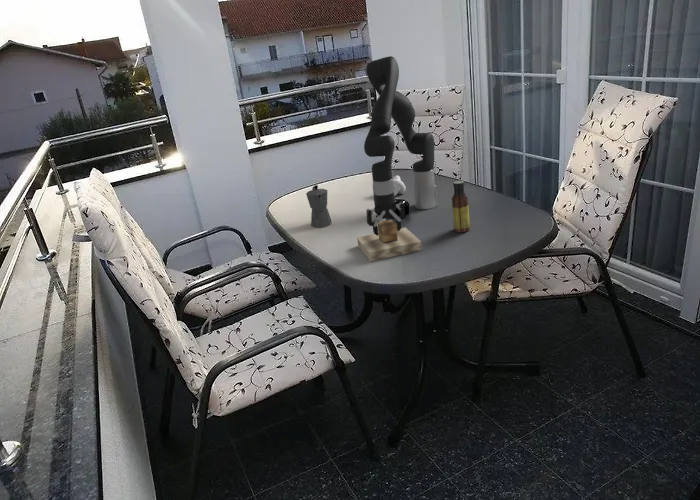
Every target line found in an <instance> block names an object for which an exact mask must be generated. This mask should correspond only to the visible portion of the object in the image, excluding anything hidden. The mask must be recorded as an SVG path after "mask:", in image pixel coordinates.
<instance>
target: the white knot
mask: <svg viewBox="0 0 700 500" xmlns="http://www.w3.org/2000/svg"><path fill="white" fill-rule="evenodd" d="M392 180H393V185H394V196H395V197H396V196H397V195H398V194H399V195H403V194H405V193H406V190H407V187H406V185H405V183H404V182H403V181H402V180H401V177H400V176H399V175H394V176H392Z"/></svg>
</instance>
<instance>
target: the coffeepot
mask: <svg viewBox="0 0 700 500" xmlns="http://www.w3.org/2000/svg"><path fill="white" fill-rule="evenodd" d="M305 194H306V197H307V198H306V199H307V201H308V204H309V207H310V208H311V215H310V216H311V218H310V219H311V221H310V222H311V223H310V225H311V226H312V227H313V228H315V229H317V228H318V229H320V228H326V227H329V226H330V225H331V224H332V223H333V222H332V218H331V216H330V212H329V209H328V207H327V206H328V189H325V188H319V187H318V185H317V184H316V185H314V186H312V189H311V190H308V191H307V192H306V193H305Z"/></svg>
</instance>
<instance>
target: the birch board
mask: <svg viewBox="0 0 700 500" xmlns="http://www.w3.org/2000/svg"><path fill="white" fill-rule="evenodd" d="M397 238H398V240H397V241H393V242H388V243H383V242H382V241H381V240H380V239H379V234H378V235H377V236H376V235H375V234H374V233H373V234H368V235H363V236H359V237H356V241H357V246H358V248H359V249H360V250H361V252H362V253H363V254H364V256H365V257H366V258H367V260H368V261H369V262H374V261H379V260H382V259H388V258H392V257H397V256H400V255H401V256H402V255H405V254H410V253H414V252H420V251H422V241H421V240H420V239H419V238H418V237H417V236H416V235H414V234H413V232H411V231H410V230H409V229H408V228H407V227H406V226H405V227H401V229H400V231H397Z"/></svg>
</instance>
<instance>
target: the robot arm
mask: <svg viewBox="0 0 700 500" xmlns="http://www.w3.org/2000/svg"><path fill="white" fill-rule="evenodd" d="M365 68H366V69H365V70H366V71H365V72H366V77H367V78H368V81H369V82H370V85H371V86H372V87H373V89H374V90H375V91H376V93H377V94H378V98H377V100H376V101H375V103H374V105H373V107H372V110H371V119H370V120H371V121H370V127H369V130H368V133H367V135H366V137H365V141H364V144H363V150H364V154H366V155H367V157H370V158H371V157H372V158H376V157H384V158H383V160H381V161H378V162H375V163H373V164H372V165H371V176H372V190H373V191H372V193H373V201H374V208H371V209H370V208H366V225H368V226H369V227H371V226H372V231H373V234H375V235H376V236H377V235H378V223H379V222H381V221H382V220H384V219H389V218H392V217H393V218H394V219H395V223H396V226H397V231H400V229H401V228H402V220H405V219H406V212H405V204H404V203H402V202H401V201H400V202H398V203H396V198H395V197H396V196H394V185H393V180H392V179H393V172H392V171H393V170H392V163H393V156H394V152H395V147H396V146H395V140H394V138H393V137H392V136H391V135H390V134H389V135H387V134H388V133H389V132H391V131H390V130H391V125H392V120H393V121H394V123H395V125H396V127H397V128H398V130H399V133H400V134H401V137H402V139H403V142H404V144H405V146H406V148H407V150H408V152H409V153H410V154H411V155H420V156H421V155H422V159H421V160H418V161H416V162H413V164H412V177H413V193H414V194H413V195H414V206H415V208H416V209H417V210H429V209H433V208H435V207H438V194H437V192H438V191H437V185H436V184H435V139H434V136H433V134H432V133H430V132H416V131H415V130H414V128H413V125H414V122H415V118H416V110H415V108H414V106H413V104H412V102H411V100H410V98H409V97H408V96H407V95H405V94H403V93H402V92H400V91H398V90H397V86H398V82H399V78H400V77H399V76H400V67H399V64H398V60H397V59H396V58H395V57H394V56H390V55H389V56H384V57H380V58H378V59H374V60H372V61H369V62H368V63H367V64H366V67H365ZM385 134H386V135H385ZM397 209H398V211H399V216H398V215H397V213H395V212H396V210H397ZM374 213H375V216H374V218H373V215H374Z"/></svg>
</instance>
